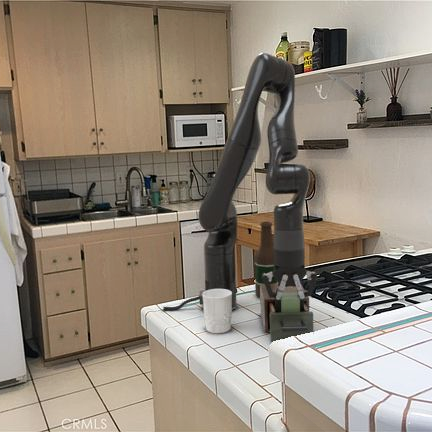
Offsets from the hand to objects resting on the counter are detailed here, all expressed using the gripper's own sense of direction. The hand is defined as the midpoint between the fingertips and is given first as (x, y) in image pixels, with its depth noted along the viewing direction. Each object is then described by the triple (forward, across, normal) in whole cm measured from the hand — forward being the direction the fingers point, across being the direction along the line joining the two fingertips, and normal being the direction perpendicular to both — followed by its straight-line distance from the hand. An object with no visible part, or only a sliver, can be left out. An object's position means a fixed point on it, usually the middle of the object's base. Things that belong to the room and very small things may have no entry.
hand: (289, 312), depth 126 cm
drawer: (+6, 0, -1) cm, 6 cm away
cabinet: (+7, 0, +11) cm, 13 cm away
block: (0, 0, 0) cm, 0 cm away
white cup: (+7, -18, +8) cm, 21 cm away
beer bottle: (+7, -2, +35) cm, 36 cm away
